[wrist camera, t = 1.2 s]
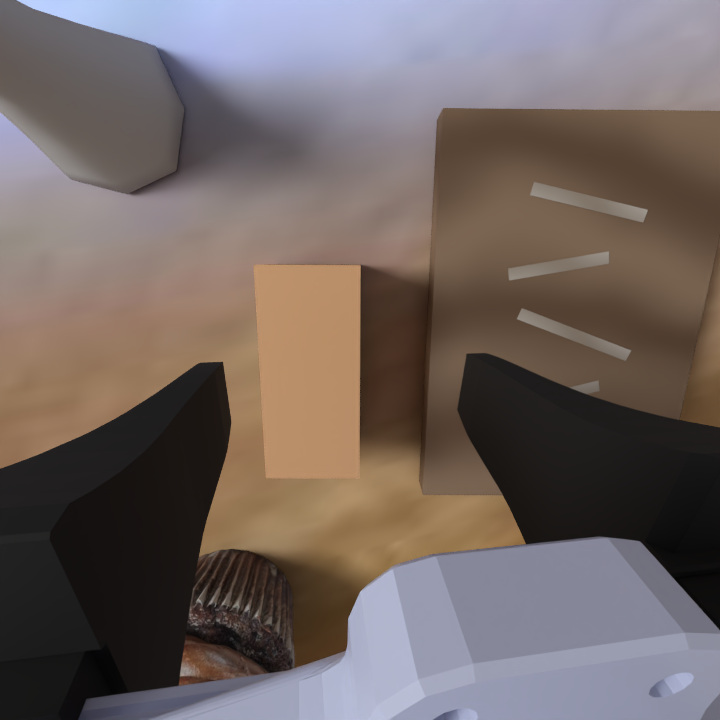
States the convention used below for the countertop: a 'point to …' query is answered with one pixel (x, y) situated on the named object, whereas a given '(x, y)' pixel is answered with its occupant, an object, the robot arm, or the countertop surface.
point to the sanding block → (309, 368)
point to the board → (566, 261)
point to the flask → (89, 99)
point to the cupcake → (237, 619)
